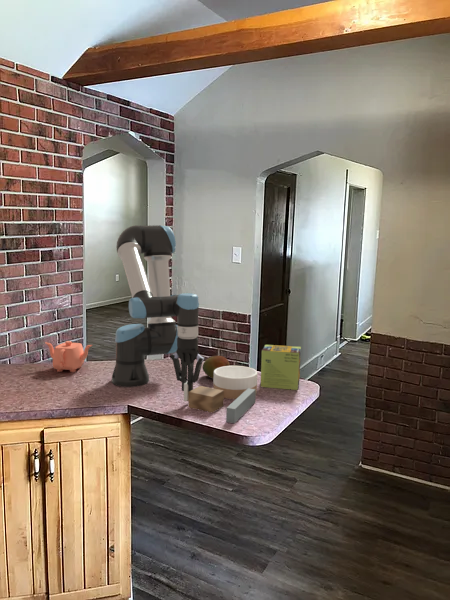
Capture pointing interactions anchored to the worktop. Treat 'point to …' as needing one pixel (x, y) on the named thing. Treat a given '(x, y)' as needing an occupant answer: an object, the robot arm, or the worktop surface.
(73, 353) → the teapot
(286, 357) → the protein box
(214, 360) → the fruit
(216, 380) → the bowl
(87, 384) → the worktop surface
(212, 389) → the walnut block
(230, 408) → the grey long rectangular bar
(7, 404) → the worktop surface
